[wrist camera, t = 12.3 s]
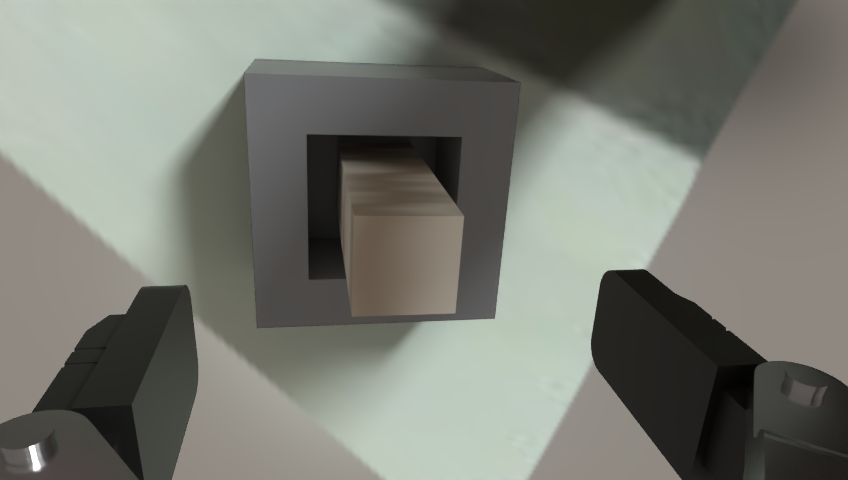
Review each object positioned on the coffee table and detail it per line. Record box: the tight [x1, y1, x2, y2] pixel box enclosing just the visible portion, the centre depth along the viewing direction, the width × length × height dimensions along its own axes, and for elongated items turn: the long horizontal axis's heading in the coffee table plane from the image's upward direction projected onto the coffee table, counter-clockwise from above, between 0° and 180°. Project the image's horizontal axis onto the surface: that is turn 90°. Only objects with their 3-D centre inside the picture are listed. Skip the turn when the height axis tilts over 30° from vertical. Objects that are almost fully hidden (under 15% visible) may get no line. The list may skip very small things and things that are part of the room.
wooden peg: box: [337, 142, 464, 317], centre depth 28 cm, size 4×4×12 cm
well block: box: [244, 59, 520, 328], centre depth 31 cm, size 12×12×6 cm
